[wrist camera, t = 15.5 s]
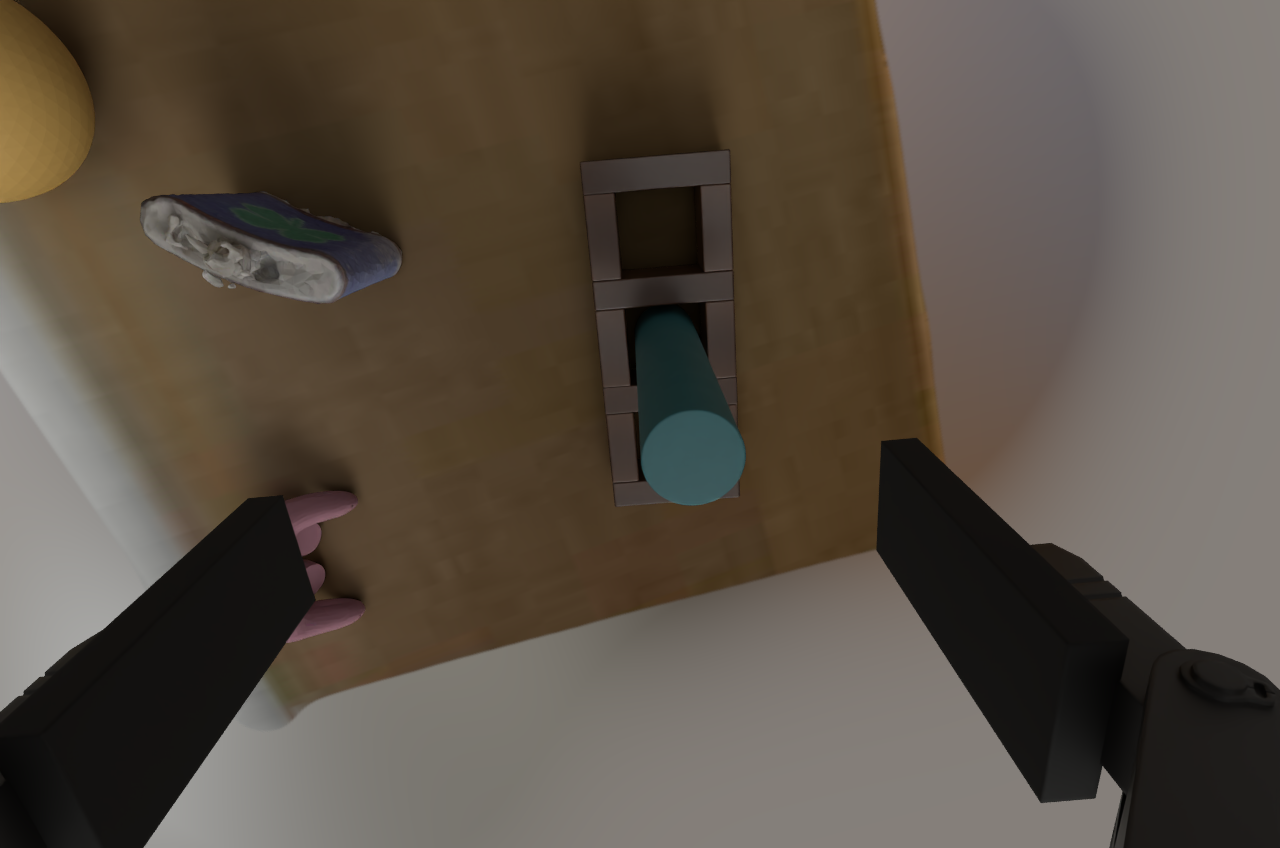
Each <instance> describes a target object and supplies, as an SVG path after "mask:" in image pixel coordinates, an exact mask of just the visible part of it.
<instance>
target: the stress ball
mask: <svg viewBox="0 0 1280 848" xmlns="http://www.w3.org/2000/svg"><path fill="white" fill-rule="evenodd" d="M94 129H95V113H94V106H93V101H92V97H91V93H90V90H89V87H88V84H87V82H86V80H85V77H84V75H83V73H82V71H81V69H80V68H79V66H78V64H77V62H76V61H75V59H74V58H73V56H72V55H71V53H70V52H69V51H68V49H67V48H66V47H65V45H64V44H63V43H62V42H61V41H60V40H59V38H58V37H57V36H56V35H55V34H54V33H53V32H52V31H51V30H50V29H49V28H48V27H47V26H46V25H45V24H44V23H43V22H42V21H41V20H39V19H38V18H37V17H36V16H34V15H33V14H32V13H31V12H29V11H28V10H27V9H26V8H24V7H23V6H21V5H20V4H18V3H17V2H15V1H14V0H0V203H6V202H12V201H19V200H25V199H28V198H31V197H34V196H37V195H40V194H43V193H45V192H48V191H50V190H52V189H54V188H56V187H57V186H59V185H60V184H62V183H63V182H65V181H66V180H67V179H68V178H70V177H71V176H72V175H73V174H74V173H75V172H76V171H77V170H78V168H79V167H80V166H81V165H82V163H83V161H84V160H85V158H86V157H87V154H88V152H89V150H90V147H91V145H92V140H93V135H94Z"/></svg>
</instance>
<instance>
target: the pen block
mask: <svg viewBox="0 0 1280 848" xmlns="http://www.w3.org/2000/svg"><path fill="white" fill-rule="evenodd" d="M580 169H581V178H582V188H583V195H584V196H583V198H584V207H585V217H586V227H587V237H588V247H589V256H590V266H591V276H592V281H593V282H592V286H593V295H594V305H595V310H596V311H595V315H596V325H597V335H598V345H599V354H600V364H601V374H602V384H603V394H604V404H605V413H606V423H607V433H608V442H609V452H610V462H611V472H612V481H613V491H614V501H615V506H616V507H618V506H631V505H644V504H656V503H669V502H671V501H669V500H667V499H665V498H663V497H662V496H660V495H659V494H658V493H656V492H655V491H654V490H653V489H652V488H651V486H650V485H649V484H648V482H647V481H646V478H645V476H644V474H643V471H642V466H641V458H640V459H638V449H637V437H636V425H635V414H634V412H638V392H637V372H636V369H631V367H630V356H629V344H628V332H627V321H626V309H625V308H636V307H649V306H661V305H673V304H686V303H698V302H699V306H700V327H701V343H702V346H703V348H704V350H705V353H706V355H707V357H708V360H709V362H710V364H711V367H712V369H713V371H714V374H715V376H716V378H717V381H718V383H719V385H720V388H721V390H722V392H723V395H724V397H725V399H726V402H727V404H728V406H729V409H730V411H731V413H732V416H733V418H734V420H735V423H736V425H737V427H738V413H737V378H736V344H735V309H734V300H733V299H734V275H733V239H732V204H731V184H730V183H731V167H730V150H729V149H728V150H716V151H704V152H692V153H680V154H668V155H656V156H644V157H632V158H620V159H608V160H596V161H584V162H580ZM688 186H694V200H695V221H696V243H697V263H698V264H692V265H680V266H668V267H656V268H643V269H631V270H622V263H621V251H620V239H619V228H618V216H617V205H616V193H615V192H627V191H640V190H652V189H664V188H676V187H688ZM739 496H740V482H739V480H738V481H737V483H736V484H735V485H734V487H733V488H732V489H731V490H730V491H729V492H727V493H726V494H725V495H723V496H722V497H721V498H733V497H739ZM719 499H720V498H719Z"/></svg>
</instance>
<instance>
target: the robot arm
mask: <svg viewBox="0 0 1280 848" xmlns="http://www.w3.org/2000/svg"><path fill="white" fill-rule="evenodd" d="M876 550H877V552H878V553H879V555H880V556H881V558H882V559H883V561H884V562H885V564H886V566H887V567H888V569H889V570H890V572H891V573H892V575H893V576H894V577H895V579H896V581H897V583H898V584H899V585H900V587H901V589H902V590H903V592H904V593H905V595H906V596H907V597H908V599H909V601H910V603H911V604H912V605H913V607H914V609H915V610H916V612H917V613H918V615H919V616H920V618H921V619H922V621H923V622H924V624H925V625H926V627H927V629H928V630H929V632H930V633H931V635H932V636H933V638H934V639H935V641H936V642H937V644H938V645H939V647H940V649H941V650H942V652H943V653H944V655H945V656H946V658H947V659H948V661H949V662H950V664H951V666H952V667H953V669H954V670H955V672H956V673H957V675H958V676H959V678H960V679H961V681H962V682H963V684H964V686H965V687H966V689H967V690H968V692H969V693H970V695H971V696H972V698H973V699H974V701H975V702H976V704H977V705H978V707H979V709H980V710H981V711H982V713H983V715H984V716H985V718H986V719H987V721H988V722H989V724H990V725H991V727H992V728H993V730H994V732H995V733H996V735H997V736H998V738H999V739H1000V741H1001V742H1002V744H1003V745H1004V747H1005V749H1006V750H1007V752H1008V753H1009V755H1010V756H1011V758H1012V759H1013V761H1014V762H1015V764H1016V765H1017V767H1018V769H1019V770H1020V772H1021V773H1022V775H1023V776H1024V778H1025V779H1026V781H1027V782H1028V784H1029V785H1030V787H1031V789H1032V790H1033V791H1034V793H1035V795H1036V796H1037V798H1038V799H1039V801H1040V802H1041V803H1045V802H1046V803H1047V802H1057V801H1070V800H1082V799H1094V798H1096V793H1097V788H1098V783H1099V779H1100V775H1101V770H1102V766H1103V767H1104V768H1105V769H1106V771H1108V773H1109V774H1110V776H1111V777H1112V778H1113V779H1114V781H1115V782H1116V783H1117V784H1118V786H1119V787H1120V788H1121V790H1122V791H1123V792H1122V796H1121V800H1120V805H1119V809H1118V813H1117V818H1116V822H1115V826H1114V830H1113V834H1112V839H1111V843H1110V848H1280V690H1279V689H1278V688H1277V687H1276V686H1275V685H1274V684H1273V683H1272V682H1271V681H1270V680H1269V679H1268V678H1266V677H1265V676H1264V675H1262V674H1260V673H1259V672H1257V671H1255V670H1254V669H1252V668H1250V667H1248V666H1247V665H1245V664H1243V663H1240V662H1238V661H1235V660H1233V659H1230V658H1227V657H1225V656H1222V655H1219V654H1215V653H1210V652H1205V651H1200V650H1195V649H1185V647H1183V646H1182V645H1181V644H1180V643H1179V642H1178V641H1177V640H1175V639H1174V638H1173V637H1172V636H1171V635H1170V634H1168V633H1167V632H1166V631H1165V630H1163V628H1161V627H1160V626H1159V625H1158V624H1157V623H1156V622H1155V621H1154V620H1152V619H1151V618H1150V617H1149V616H1148V615H1147V614H1145V613H1144V612H1143V611H1142V610H1141V609H1140V608H1139V607H1137V606H1136V605H1135V604H1134V603H1133V602H1132V601H1130V600H1129V599H1128V598H1127V597H1122V595H1121V592H1120V591H1119V590H1118V589H1117V588H1115V587H1114V586H1113V585H1112V584H1111V583H1110V582H1109V581H1104V579H1103V576H1102V575H1101V574H1099V573H1098V572H1097V571H1096V570H1095V569H1094V568H1092V567H1091V566H1090V565H1089V564H1088V563H1087V562H1085V561H1084V560H1083V559H1082V558H1080V557H1078V556H1076V555H1074V554H1072V553H1070V552H1068V551H1066V550H1064V549H1062V548H1060V547H1058V546H1056V545H1054V544H1052V543H1046V544H1035V545H1029V544H1028V543H1027V542H1026V541H1025V540H1024V539H1023V538H1022V537H1021V536H1020V535H1019V534H1018V533H1017V532H1016V531H1015V530H1014V529H1012V528H1011V527H1010V526H1009V525H1008V524H1007V523H1006V522H1005V521H1004V520H1003V519H1002V518H1001V517H1000V516H999V515H997V513H996V512H994V511H993V510H992V509H991V508H990V507H989V506H988V505H987V504H986V503H985V502H984V501H983V500H982V499H981V498H980V497H979V496H978V495H976V494H975V493H974V492H973V491H972V490H971V489H970V488H969V487H968V486H967V485H966V484H965V483H964V482H963V481H962V480H961V479H960V478H959V477H957V476H956V475H955V474H954V473H953V472H952V471H951V470H950V469H949V468H948V467H947V466H946V465H945V464H944V463H943V462H942V461H941V460H940V459H938V458H937V457H936V456H935V455H934V454H933V453H932V452H931V451H930V450H929V449H928V448H927V447H926V446H925V445H924V444H923V443H922V442H920V441H919V440H918V439H917V438H910V439H899V440H888V441H881V461H880V483H879V505H878V527H877V549H876ZM315 600H316V599H315V596H314V593H313V590H312V587H311V583H310V580H309V577H308V574H307V571H306V568H305V564H304V561H303V558H302V555H301V552H300V548H299V545H298V542H297V539H296V536H295V533H294V529H293V526H292V523H291V520H290V517H289V513H288V510H287V507H286V504H285V501H284V498H283V495H280V496H269V497H258V498H248V499H247V500H246V501H245V502H244V503H242V504H241V505H240V506H239V507H238V508H237V509H236V510H235V511H234V512H233V513H231V514H230V515H229V516H228V517H227V518H226V519H225V520H224V521H223V522H221V523H220V524H219V525H218V526H217V527H216V528H215V529H214V530H213V531H212V532H210V533H209V534H208V535H207V536H206V537H205V538H204V539H203V540H202V541H201V542H199V543H198V544H197V545H196V546H195V547H194V548H193V549H192V550H191V551H189V552H188V553H187V554H186V555H185V556H184V557H183V558H182V559H181V560H180V561H178V562H177V563H176V564H175V565H174V566H173V567H172V568H171V569H170V570H168V571H167V572H166V573H165V574H164V575H163V576H162V577H161V578H160V579H159V580H157V581H156V582H155V583H154V584H153V585H152V586H151V587H150V588H149V589H148V590H146V591H145V592H144V593H143V594H142V595H141V596H140V597H139V598H138V599H137V600H136V601H134V602H133V603H132V604H131V605H130V606H129V607H128V608H127V609H125V610H124V611H123V612H122V613H121V614H120V615H119V616H118V617H117V618H115V619H114V620H113V621H112V622H111V623H110V624H109V625H108V626H107V627H106V628H104V629H103V630H102V631H100V632H99V633H97V634H95V635H94V636H92V637H90V638H89V639H87V640H86V641H84V642H82V643H81V644H79V645H77V646H76V647H74V648H72V649H71V650H70V651H68V652H67V653H66V654H65V655H64V656H63V657H62V658H61V659H59V660H58V661H57V662H56V663H55V664H54V665H53V666H52V667H50V668H49V669H48V670H47V671H46V672H45V676H44V677H39V678H38V679H37V680H36V681H35V682H34V683H32V684H31V685H30V686H29V687H28V688H27V689H26V690H25V691H24V694H23V696H18V697H17V698H16V699H14V700H13V701H12V702H11V703H10V704H9V705H8V706H7V707H6V708H4V709H3V710H2V711H1V712H0V848H143V847H144V846H145V845H146V843H147V842H148V840H149V839H150V837H151V836H152V835H153V833H154V832H155V830H156V829H157V827H158V826H159V825H160V823H161V822H162V820H163V819H164V817H165V816H166V814H167V813H168V812H169V810H170V808H171V807H172V806H173V804H174V803H175V802H176V800H177V799H178V797H179V796H180V794H181V793H182V791H183V790H184V789H185V787H186V786H187V784H188V783H189V781H190V780H191V779H192V777H193V776H194V774H195V773H196V771H197V770H198V768H199V767H200V765H201V764H202V763H203V761H204V760H205V758H206V757H207V756H208V754H209V753H210V751H211V750H212V748H213V747H214V746H215V744H216V743H217V741H218V740H219V738H220V737H221V735H222V734H223V733H224V731H225V730H226V728H227V727H228V725H229V724H230V723H231V721H232V720H233V718H234V717H235V715H236V714H237V712H238V711H239V710H240V708H241V707H242V705H243V704H244V702H245V701H246V700H247V698H248V697H249V695H250V694H251V692H252V691H253V689H254V688H255V687H256V685H257V684H258V682H259V681H260V679H261V678H262V677H263V675H264V674H265V672H266V671H267V669H268V668H269V666H270V665H271V664H272V662H273V661H274V659H275V658H276V656H277V655H278V654H279V652H280V651H281V649H282V648H283V646H284V645H285V643H286V642H287V641H288V639H289V638H290V636H291V635H292V633H293V632H294V631H295V629H296V628H297V626H298V625H299V623H300V622H301V620H302V619H303V618H304V616H305V615H306V613H307V612H308V610H309V609H310V608H311V606H312V605H313V603H314V602H315Z"/></svg>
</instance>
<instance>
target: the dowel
mask: <svg viewBox="0 0 1280 848" xmlns="http://www.w3.org/2000/svg"><path fill="white" fill-rule="evenodd" d="M635 351H636V372H637V392H638V413H639V434H640V454H641V466H642V471H643V474H644V476H645V478H646V481H647V482H648V484H649V485H650V486H651V488H652V489H653V490H654V491H655V492H656V493H658V494H659V495H660V496H662V497H663V498H665V499H667V500H669V501H671V502H674V503H677V504H681V505H702V504H706V503H710V502H712V501H715V500H717V499H719V498H721V497H722V496H723V495H725V494H726V493H727V492H729V491H730V490H731V489H732V488H733V487H734V485H735V484H736V483H737V481H738V480H739V478H740V476H741V474H742V472H743V469H744V465H745V459H746V452H745V445H744V442H743V439H742V437H741V434H740V432H739V430H738V427H737V425H736V423H735V420H734V418H733V416H732V413H731V411H730V409H729V406H728V404H727V402H726V399H725V397H724V395H723V392H722V390H721V388H720V385H719V383H718V381H717V378H716V376H715V374H714V371H713V369H712V367H711V364H710V362H709V360H708V357H707V355H706V353H705V350H704V348H703V346H702V343H701V341H700V339H699V336H698V334H697V332H696V329H695V327H694V325H693V322H692V320H691V318H690V316H689V315H688V314H687V313H686V312H685V311H684V310H683V309H682V308H680V307H678V306H676V305H661V306H652V307H650V308H648V309H647V310H646V311H644V312H643V313H642V315H641V316H640V317H639V319H638V321H637V323H636V327H635Z"/></svg>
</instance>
